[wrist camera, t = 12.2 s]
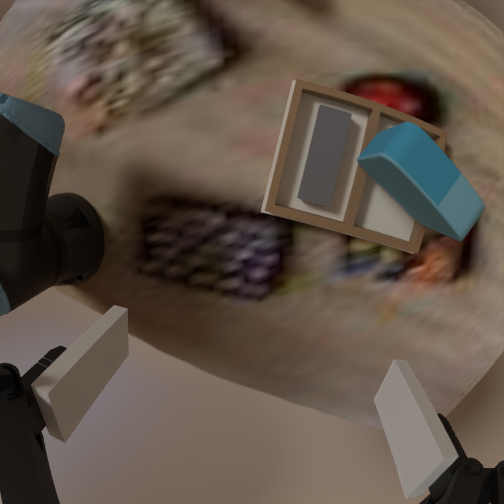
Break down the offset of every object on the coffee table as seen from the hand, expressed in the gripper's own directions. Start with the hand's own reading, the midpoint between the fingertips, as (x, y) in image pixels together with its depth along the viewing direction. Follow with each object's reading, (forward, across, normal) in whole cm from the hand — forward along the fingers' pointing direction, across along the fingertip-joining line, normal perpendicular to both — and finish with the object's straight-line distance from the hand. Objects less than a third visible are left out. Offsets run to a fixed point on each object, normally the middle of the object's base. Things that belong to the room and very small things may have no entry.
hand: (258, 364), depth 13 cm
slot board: (+28, +10, +12) cm, 31 cm away
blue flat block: (+25, +14, +11) cm, 31 cm away
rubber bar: (+27, +5, +12) cm, 30 cm away
